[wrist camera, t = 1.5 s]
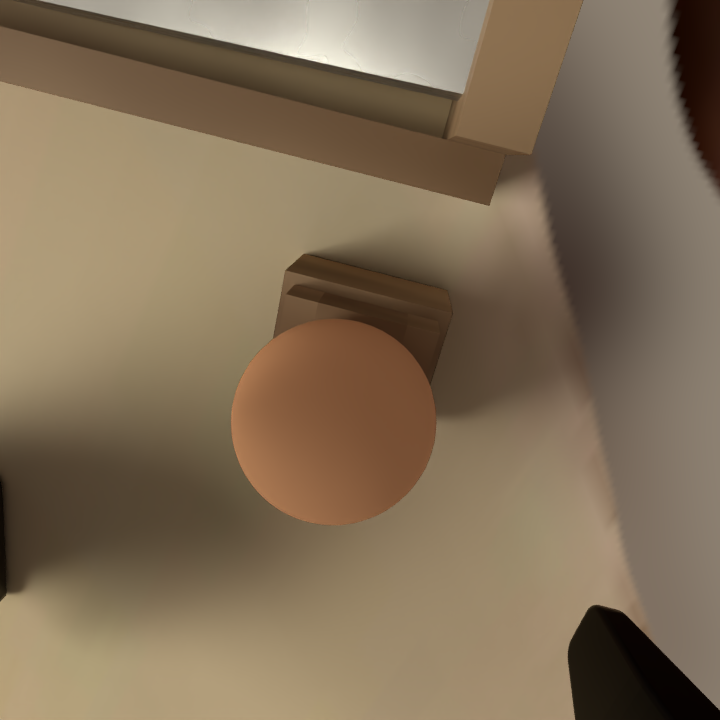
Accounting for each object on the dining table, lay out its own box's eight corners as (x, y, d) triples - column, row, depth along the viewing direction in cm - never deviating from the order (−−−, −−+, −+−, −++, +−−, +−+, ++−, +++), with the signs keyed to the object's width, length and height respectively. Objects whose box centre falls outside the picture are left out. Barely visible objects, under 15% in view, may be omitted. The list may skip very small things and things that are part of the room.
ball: (407, 470, 14) (404, 597, 10) (251, 430, 14) (185, 540, 10) (455, 321, 12) (474, 401, 8) (278, 276, 12) (212, 334, 8)
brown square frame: (408, 416, 17) (406, 476, 14) (279, 383, 17) (248, 435, 14) (447, 290, 15) (455, 324, 12) (303, 253, 15) (275, 278, 12)
